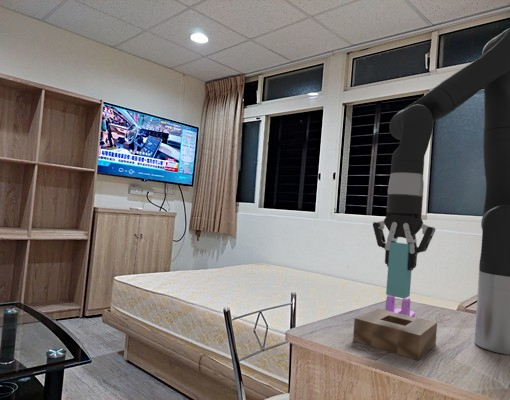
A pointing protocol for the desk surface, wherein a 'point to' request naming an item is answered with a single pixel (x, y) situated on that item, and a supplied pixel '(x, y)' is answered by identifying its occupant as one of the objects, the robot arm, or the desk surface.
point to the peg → (398, 270)
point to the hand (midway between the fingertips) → (399, 268)
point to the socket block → (395, 333)
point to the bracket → (404, 309)
